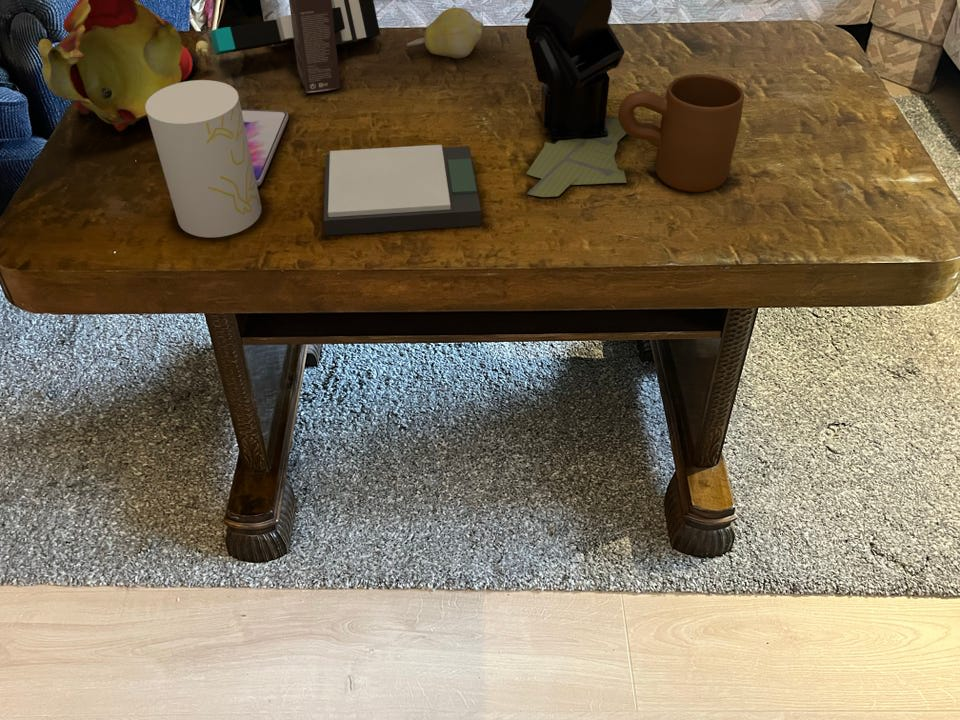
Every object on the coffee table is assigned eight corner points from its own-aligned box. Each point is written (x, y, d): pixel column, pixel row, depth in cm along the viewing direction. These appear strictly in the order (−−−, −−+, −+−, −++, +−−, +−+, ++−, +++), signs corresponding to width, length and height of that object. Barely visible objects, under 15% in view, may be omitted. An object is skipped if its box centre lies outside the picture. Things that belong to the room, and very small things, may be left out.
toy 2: (205, 25, 111) (356, 1, 117) (215, 66, 113) (365, 40, 119) (213, 15, 102) (377, -11, 108) (225, 60, 104) (385, 32, 110)
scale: (469, 160, 95) (469, 140, 93) (481, 225, 86) (481, 204, 84) (327, 169, 94) (325, 149, 92) (325, 235, 85) (322, 214, 83)
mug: (613, 193, 90) (623, 108, 84) (609, 154, 96) (618, 71, 89) (733, 195, 90) (752, 110, 83) (721, 156, 95) (739, 73, 89)
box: (343, 88, 106) (331, -13, 98) (305, 94, 105) (290, -8, 97) (333, 67, 110) (321, -33, 102) (297, 72, 109) (281, -28, 101)
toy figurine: (151, 85, 110) (141, 85, 103) (143, 47, 109) (132, 45, 102) (216, 78, 112) (211, 78, 104) (210, 41, 110) (204, 38, 103)
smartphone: (289, 110, 101) (259, 182, 90) (290, 117, 102) (260, 189, 91) (226, 108, 101) (188, 179, 90) (227, 115, 102) (190, 186, 91)
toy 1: (221, 65, 103) (131, 13, 105) (174, -14, 89) (71, -71, 90) (146, 168, 101) (56, 114, 103) (85, 105, 86) (-19, 43, 88)
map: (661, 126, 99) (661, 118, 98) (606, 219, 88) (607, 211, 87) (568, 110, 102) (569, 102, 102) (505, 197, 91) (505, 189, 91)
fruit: (408, 43, 116) (484, 30, 115) (411, 75, 113) (489, 62, 112) (399, 6, 111) (478, -7, 110) (402, 39, 108) (483, 26, 107)
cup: (242, 241, 84) (216, 127, 76) (163, 232, 86) (128, 118, 77) (273, 195, 90) (252, 84, 82) (199, 186, 91) (170, 76, 83)
